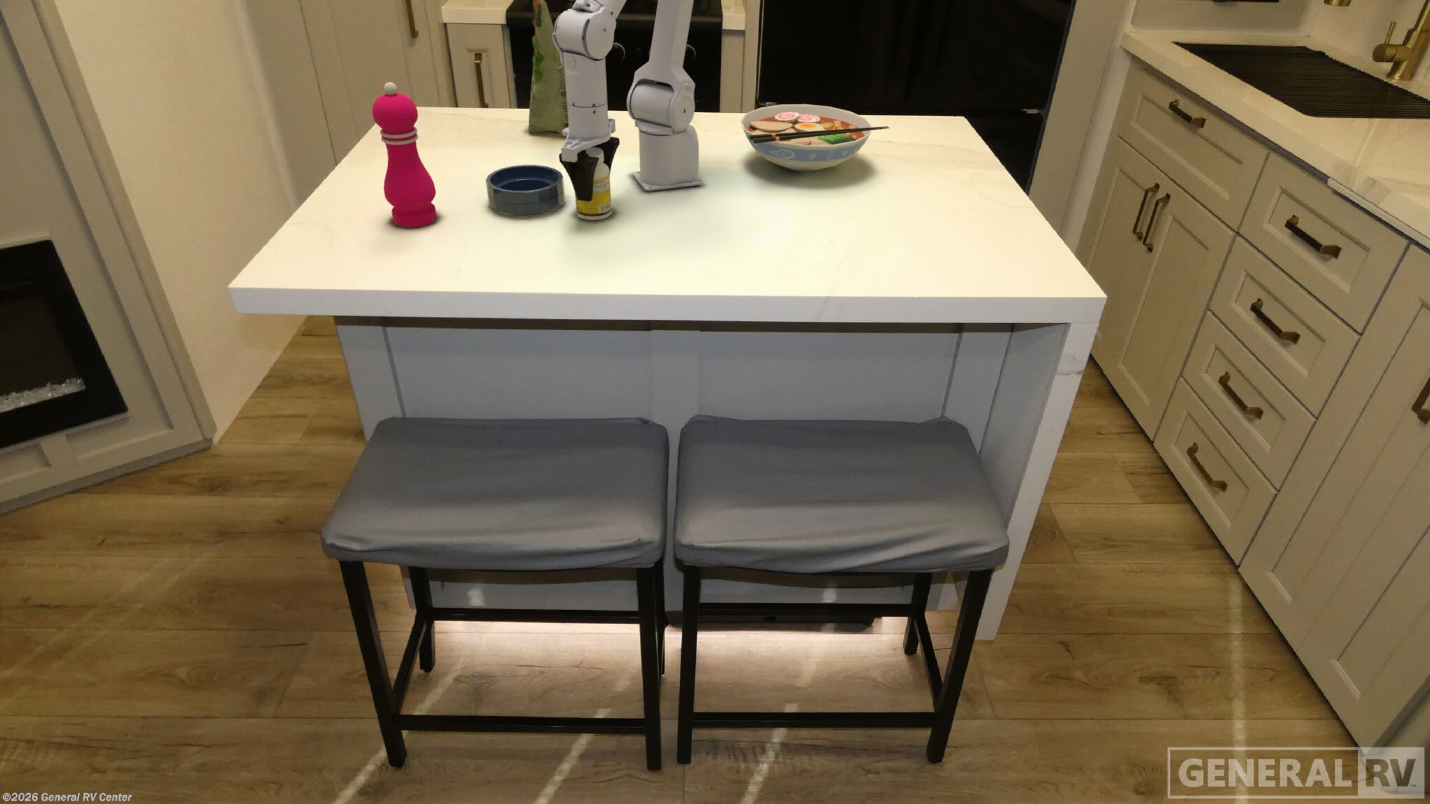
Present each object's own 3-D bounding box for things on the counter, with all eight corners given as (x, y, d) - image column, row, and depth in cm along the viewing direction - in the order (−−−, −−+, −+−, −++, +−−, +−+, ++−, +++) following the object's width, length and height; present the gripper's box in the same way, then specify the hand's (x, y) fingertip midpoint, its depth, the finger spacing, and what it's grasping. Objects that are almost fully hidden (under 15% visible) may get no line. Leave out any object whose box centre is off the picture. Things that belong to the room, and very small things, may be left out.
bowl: (556, 186, 142) (554, 161, 139) (572, 213, 133) (569, 187, 130) (484, 194, 138) (481, 168, 136) (495, 222, 129) (492, 195, 127)
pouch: (557, 144, 158) (544, -4, 144) (509, 131, 163) (492, -13, 149) (596, 129, 166) (588, -14, 151) (549, 117, 171) (537, -22, 157)
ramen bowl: (839, 138, 164) (844, 94, 160) (896, 181, 147) (904, 133, 142) (715, 150, 158) (716, 104, 153) (759, 196, 140) (762, 146, 135)
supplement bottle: (577, 207, 135) (572, 145, 129) (612, 206, 135) (608, 145, 130) (575, 221, 130) (570, 157, 125) (611, 220, 131) (608, 157, 125)
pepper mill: (449, 213, 132) (427, 78, 120) (421, 232, 126) (395, 92, 114) (409, 206, 134) (383, 72, 122) (380, 224, 128) (349, 86, 116)
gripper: (583, 85, 130) (588, 173, 137) (538, 112, 118) (547, 206, 126) (626, 90, 128) (629, 178, 136) (585, 118, 117) (591, 213, 124)
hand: (592, 192), depth 131 cm, fingers closed on supplement bottle, 5 cm apart
